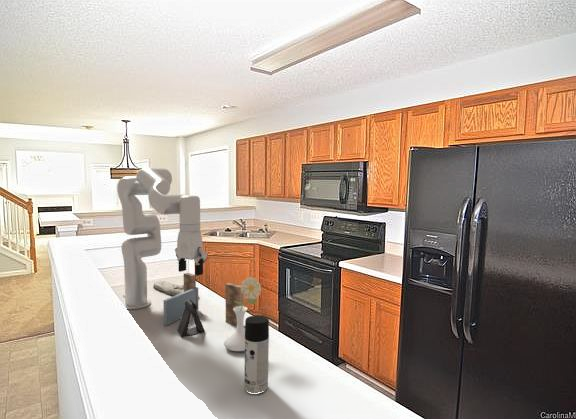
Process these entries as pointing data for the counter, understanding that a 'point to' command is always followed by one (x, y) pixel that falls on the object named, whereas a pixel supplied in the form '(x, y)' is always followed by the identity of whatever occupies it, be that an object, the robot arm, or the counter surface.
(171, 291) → the long grey stone
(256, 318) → the spray can
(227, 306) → the brown wooden blocks
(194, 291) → the blue rectangular panel
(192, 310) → the phone stand
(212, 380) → the counter surface
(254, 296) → the flower in vase
